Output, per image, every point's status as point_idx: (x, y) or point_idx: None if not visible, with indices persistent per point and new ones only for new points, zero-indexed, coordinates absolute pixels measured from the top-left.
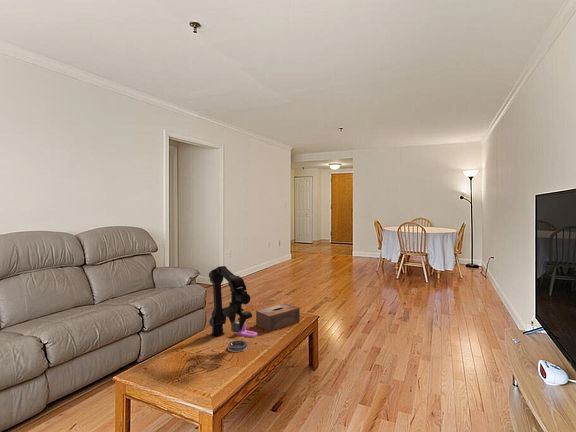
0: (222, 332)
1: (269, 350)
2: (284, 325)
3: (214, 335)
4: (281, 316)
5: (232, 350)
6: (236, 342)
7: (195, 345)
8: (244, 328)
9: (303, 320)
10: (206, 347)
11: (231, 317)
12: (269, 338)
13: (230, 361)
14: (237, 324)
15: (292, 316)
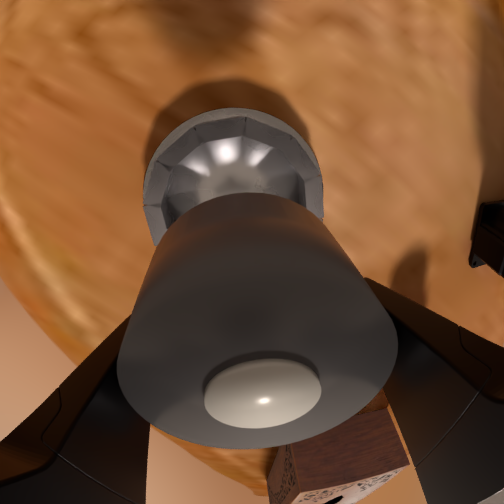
0: (480, 253)
1: (65, 323)
2: (275, 462)
3: (496, 202)
4: (283, 493)
5: (199, 122)
6: None
7: (479, 32)
8: None
9: (265, 485)
10: (419, 37)
11: (475, 428)
12: None
13: (60, 33)
14: (138, 363)
15: (273, 495)
